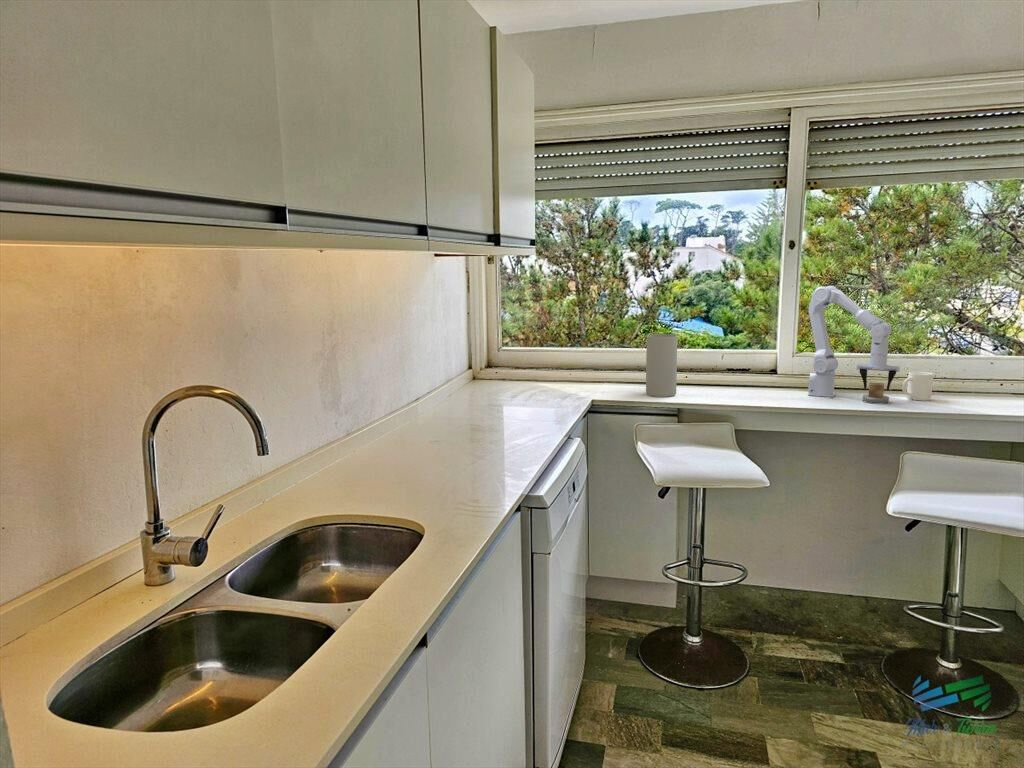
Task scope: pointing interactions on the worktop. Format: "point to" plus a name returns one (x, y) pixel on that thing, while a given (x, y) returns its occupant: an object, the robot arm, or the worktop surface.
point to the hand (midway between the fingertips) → (876, 389)
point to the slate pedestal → (876, 399)
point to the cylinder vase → (661, 365)
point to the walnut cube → (876, 390)
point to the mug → (918, 385)
